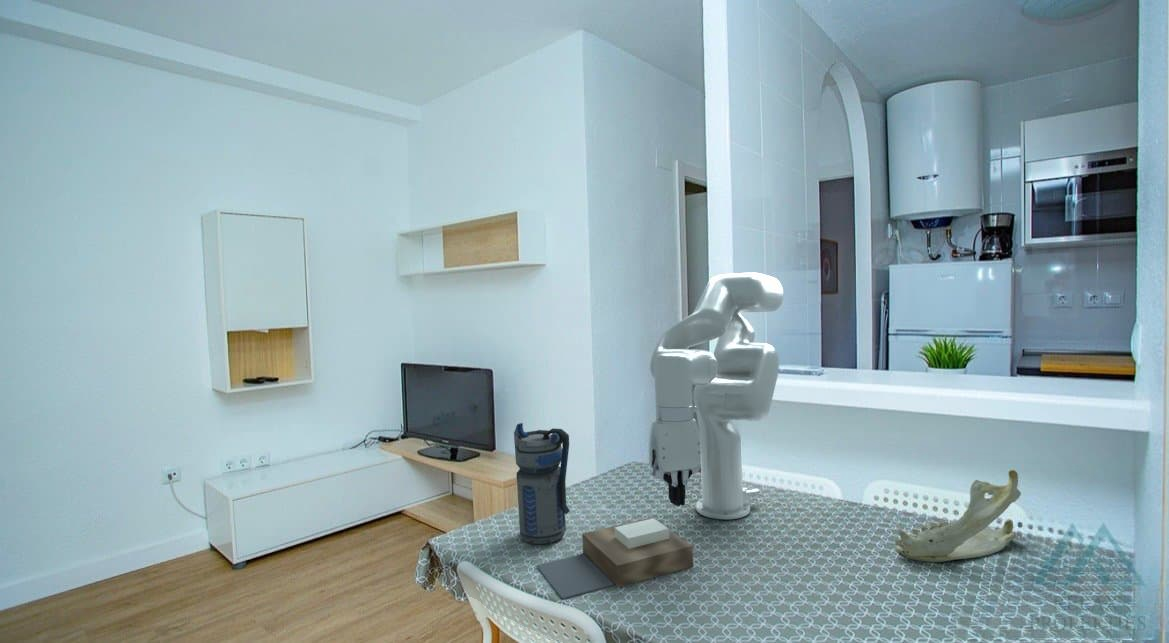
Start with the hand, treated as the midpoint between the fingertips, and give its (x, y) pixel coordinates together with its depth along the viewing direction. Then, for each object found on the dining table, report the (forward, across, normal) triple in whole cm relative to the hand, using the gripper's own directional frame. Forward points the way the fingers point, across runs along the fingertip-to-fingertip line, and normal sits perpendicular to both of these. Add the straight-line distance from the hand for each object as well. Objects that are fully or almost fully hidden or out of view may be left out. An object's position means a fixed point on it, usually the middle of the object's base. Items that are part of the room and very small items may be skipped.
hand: (677, 503), depth 117 cm
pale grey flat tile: (+6, +8, 0) cm, 10 cm away
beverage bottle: (+10, +22, -20) cm, 31 cm away
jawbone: (+9, -46, +26) cm, 54 cm away
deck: (+10, +10, -1) cm, 14 cm away
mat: (+10, +23, -1) cm, 25 cm away
